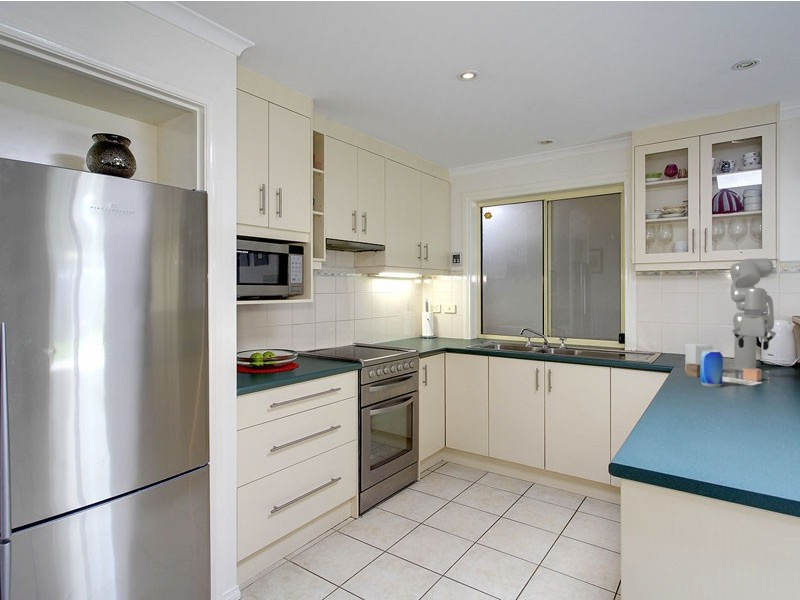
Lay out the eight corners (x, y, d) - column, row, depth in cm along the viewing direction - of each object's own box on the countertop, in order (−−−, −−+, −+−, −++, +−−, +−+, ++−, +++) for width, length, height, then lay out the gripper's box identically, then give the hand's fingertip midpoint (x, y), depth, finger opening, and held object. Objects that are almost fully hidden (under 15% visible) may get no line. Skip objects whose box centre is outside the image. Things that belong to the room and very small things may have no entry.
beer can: (715, 383, 212) (716, 349, 211) (726, 387, 203) (727, 352, 203) (696, 383, 212) (697, 349, 212) (706, 387, 204) (707, 351, 204)
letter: (722, 376, 228) (722, 376, 228) (763, 382, 214) (763, 382, 214) (710, 379, 221) (710, 379, 221) (751, 385, 207) (751, 385, 207)
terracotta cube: (748, 378, 224) (748, 367, 224) (761, 380, 220) (761, 369, 219) (743, 379, 221) (743, 368, 221) (756, 381, 217) (756, 370, 216)
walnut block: (690, 375, 233) (690, 363, 233) (701, 376, 229) (701, 364, 229) (685, 376, 230) (686, 364, 230) (696, 377, 226) (696, 365, 226)
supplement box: (712, 374, 236) (713, 345, 236) (695, 373, 236) (695, 345, 236) (701, 370, 245) (702, 343, 245) (684, 370, 245) (685, 343, 245)
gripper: (779, 314, 214) (778, 350, 215) (736, 312, 229) (735, 346, 229) (772, 314, 210) (772, 351, 210) (729, 312, 225) (729, 347, 225)
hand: (753, 348), depth 220 cm, fingers open, 9 cm apart
